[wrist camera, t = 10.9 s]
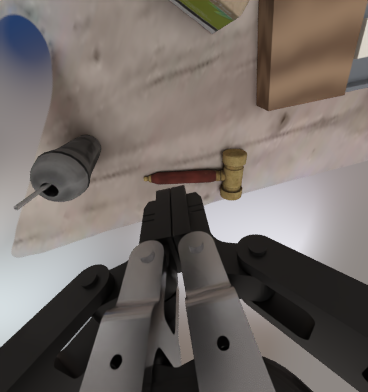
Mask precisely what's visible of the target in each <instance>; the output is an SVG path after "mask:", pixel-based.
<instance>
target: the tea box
mask: <svg viewBox="0 0 368 392" xmlns="http://www.w3.org/2000/svg"><path fill="white" fill-rule="evenodd" d="M169 1H171V2H172V3H173V4H175V5H176V6H177V7H179V8H180V9H181V10H182V11H184V12H185V13H186V14H188V15H189V16H190V17H192V18H193V19H194V20H196V21H197V22H198V23H199V24H200V25H202V26H203V27H204V28H205V29H207V30H208V31H209V32H211V33H212V34H213V33H215V32H216V31H218V30H219V29H221V28H223V27H224V26H226V25H227V24H229V23H231V22H232V21H234V20H236V19H237V18H238V17H240V16H241V14H242V12H243V11H244V9H245V7H246V5H247V3H248V2H249V0H169Z"/></svg>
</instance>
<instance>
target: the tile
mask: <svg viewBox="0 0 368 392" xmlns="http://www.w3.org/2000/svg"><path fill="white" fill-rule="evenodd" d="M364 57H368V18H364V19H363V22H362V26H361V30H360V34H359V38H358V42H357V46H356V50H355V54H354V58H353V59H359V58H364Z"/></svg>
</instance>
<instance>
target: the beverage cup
mask: <svg viewBox="0 0 368 392" xmlns="http://www.w3.org/2000/svg"><path fill="white" fill-rule="evenodd" d="M100 152H101V145H100V143H99V142H98V140H97V139H95V138H94V137H92V136H90V135H82V136H80V137H77V138H75V139H74V140H72V141H70V142H68V143H67V144H65V145H63V146H61V147H60V148H58V149H55V150H52V151H49V152H44V153H43V154H41V155H40V156H38V158H37V160H36V161H35V163H34V165H33V166H32V168H31V171H30V181H31V184H32V186H33V188H34V189H35V192H34V193H32V194H31V195H29V196H28V197H27V198H25V199H24V200H23V201H21V202H20V203H18V204H17V205H16V206H14V209H15V210H18V209H20V208H21V207H22V206H24V205H25V204H26V203H28V202H29V201H30V200H32V199H33V198H34V197H36V196H37V195H38V194H39V195H40V196H42V197H44V198H45V199H47V200H51V201H55V202H65V201H69V200H73V199H75V198H76V197H78V196H80V195H81V194H82V193H83V192H85V191H86V189H87V188H88V187H89V183H90V177H91V173H92V171H93V169H94V167H95V165H96V162H97V160H98V158H99V155H100Z"/></svg>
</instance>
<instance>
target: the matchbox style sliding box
mask: <svg viewBox="0 0 368 392" xmlns="http://www.w3.org/2000/svg"><path fill="white" fill-rule="evenodd" d="M367 1H368V0H259V8H258V58H257V106H259V107H261V108H263V109H265V110H267V111H271V110H276V109H280V108H285V107H290V106H294V105H299V104H304V103H309V102H313V101H318V100H323V99H327V98H332V97H337V96H342V95H345V91H346V87H347V83H348V78H349V74H350V70H351V66H352V62H353V58H354V54H355V50H356V46H357V42H358V38H359V34H360V30H361V26H362V22H363V18H364V14H365V10H366V5H367Z"/></svg>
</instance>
